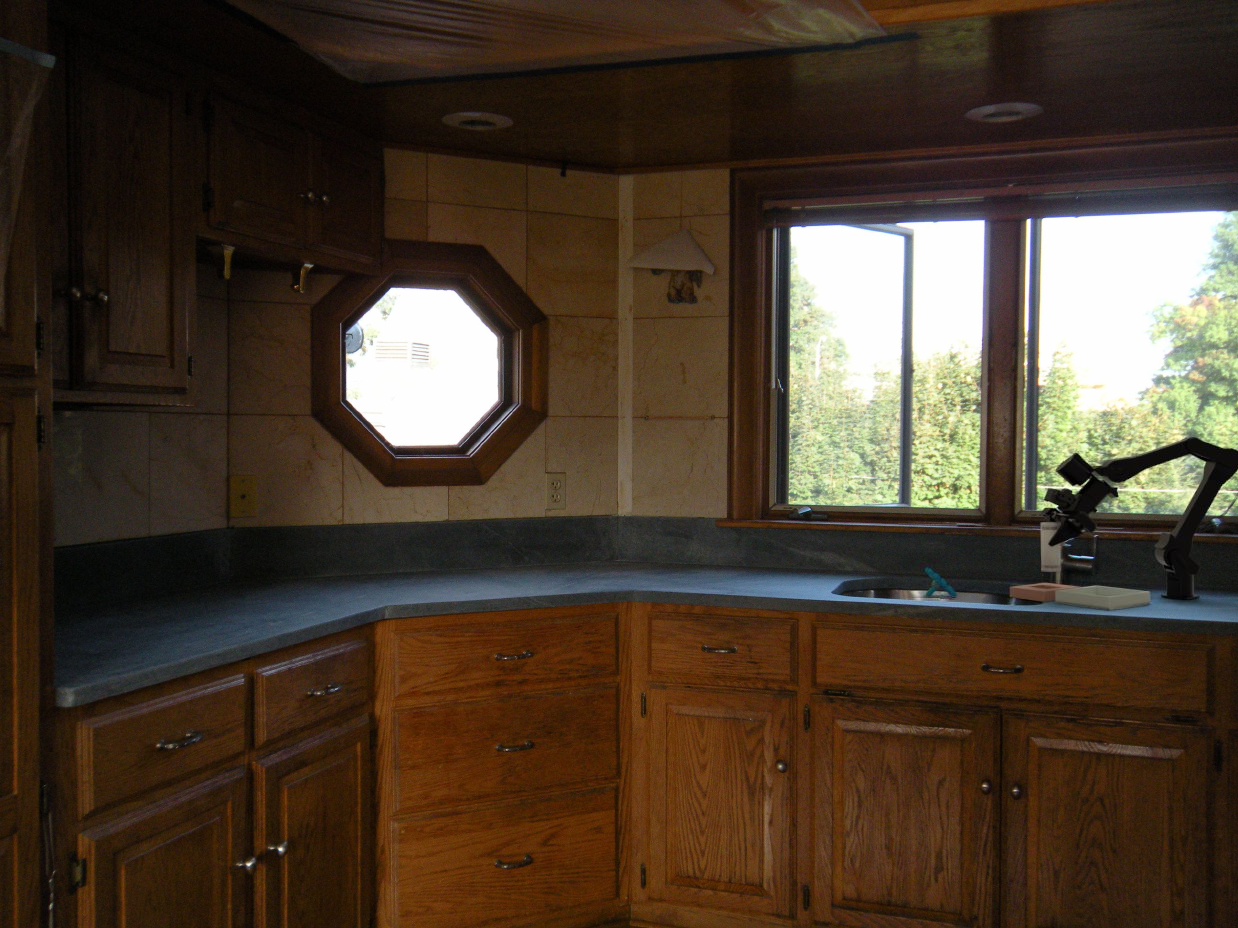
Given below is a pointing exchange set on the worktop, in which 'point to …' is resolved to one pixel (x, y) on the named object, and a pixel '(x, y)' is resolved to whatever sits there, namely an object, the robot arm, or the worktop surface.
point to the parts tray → (1102, 597)
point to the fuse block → (1038, 591)
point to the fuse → (1049, 548)
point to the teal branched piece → (938, 584)
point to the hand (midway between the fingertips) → (1045, 544)
